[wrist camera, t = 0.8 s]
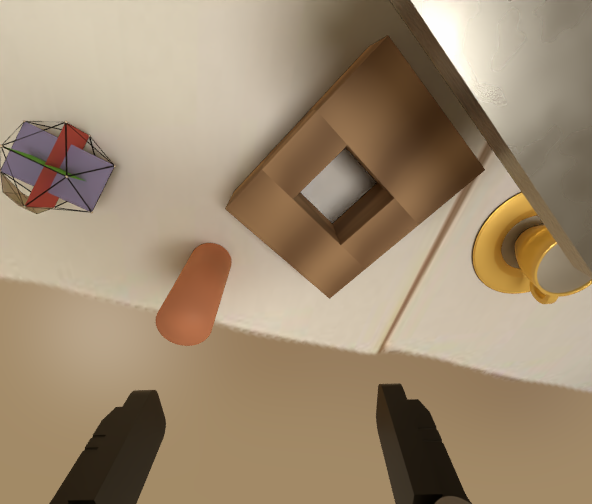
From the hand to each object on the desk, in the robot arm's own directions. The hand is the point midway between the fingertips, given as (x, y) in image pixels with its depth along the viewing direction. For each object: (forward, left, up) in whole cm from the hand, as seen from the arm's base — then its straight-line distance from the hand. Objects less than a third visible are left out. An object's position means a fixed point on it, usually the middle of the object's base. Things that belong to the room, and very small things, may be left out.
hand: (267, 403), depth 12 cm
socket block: (+2, +6, -21) cm, 22 cm away
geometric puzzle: (-15, -8, -21) cm, 27 cm away
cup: (+21, +16, -21) cm, 34 cm away
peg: (-1, -8, -21) cm, 22 cm away
